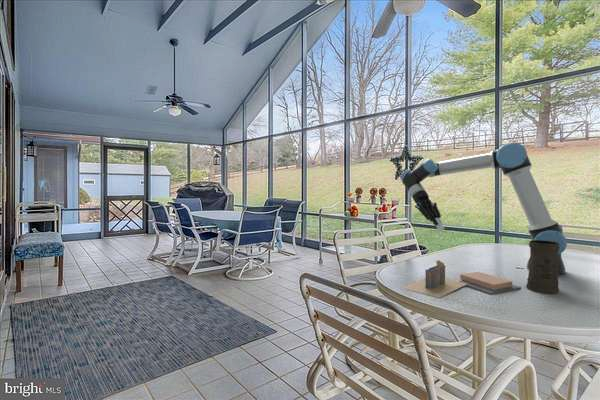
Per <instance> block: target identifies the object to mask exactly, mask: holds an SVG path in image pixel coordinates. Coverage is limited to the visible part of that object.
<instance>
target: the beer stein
mask: <svg viewBox="0 0 600 400" xmlns="http://www.w3.org/2000/svg"><path fill="white" fill-rule="evenodd" d="M528 246H529V253H530V254H529V258H530V263H529V269H528V277H527V279H526V280H527V282H526V285H525V287H526V289H528V290H530V291H533V292H536V293H540V294H548V295H551V294H554V293H555V294H559V292H560V289H559V284H560V283H559V274H558V252H559V248H560V247H559V243H557V242H552V241H543V240H532V239H531V240H529V243H528Z"/></svg>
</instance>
